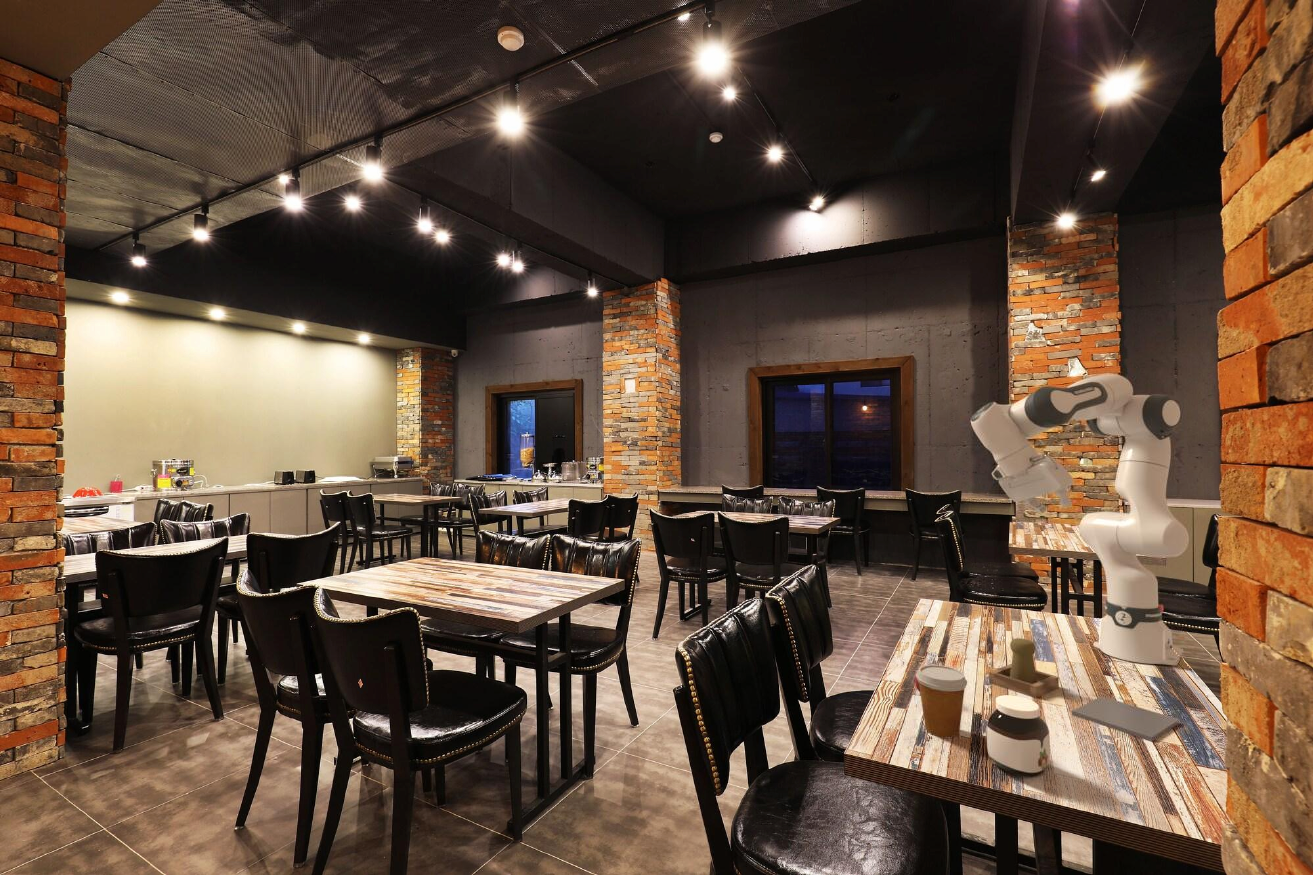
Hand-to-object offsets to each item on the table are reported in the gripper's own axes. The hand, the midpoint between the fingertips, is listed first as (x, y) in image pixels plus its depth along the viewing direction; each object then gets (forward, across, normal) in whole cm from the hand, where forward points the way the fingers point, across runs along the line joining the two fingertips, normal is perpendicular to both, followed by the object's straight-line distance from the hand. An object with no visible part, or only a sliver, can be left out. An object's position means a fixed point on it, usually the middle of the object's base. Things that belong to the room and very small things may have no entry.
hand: (1055, 509), depth 147 cm
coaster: (+40, -8, +22) cm, 47 cm away
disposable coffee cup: (+21, -12, +58) cm, 63 cm away
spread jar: (+28, -23, +54) cm, 64 cm away
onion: (+20, +4, +52) cm, 56 cm away
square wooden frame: (+32, +10, +28) cm, 44 cm away
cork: (+32, +10, +28) cm, 44 cm away
